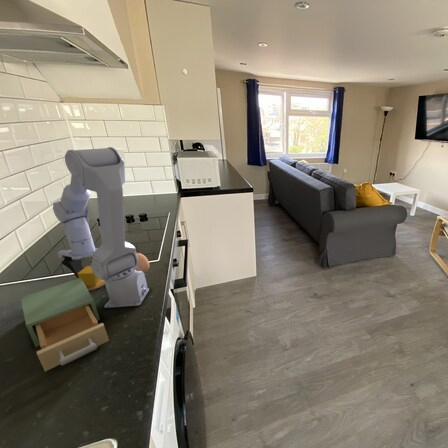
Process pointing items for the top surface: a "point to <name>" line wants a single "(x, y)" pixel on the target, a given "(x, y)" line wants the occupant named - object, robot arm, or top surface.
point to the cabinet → (55, 304)
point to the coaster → (96, 286)
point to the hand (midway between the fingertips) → (91, 276)
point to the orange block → (88, 277)
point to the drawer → (69, 337)
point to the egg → (142, 263)
